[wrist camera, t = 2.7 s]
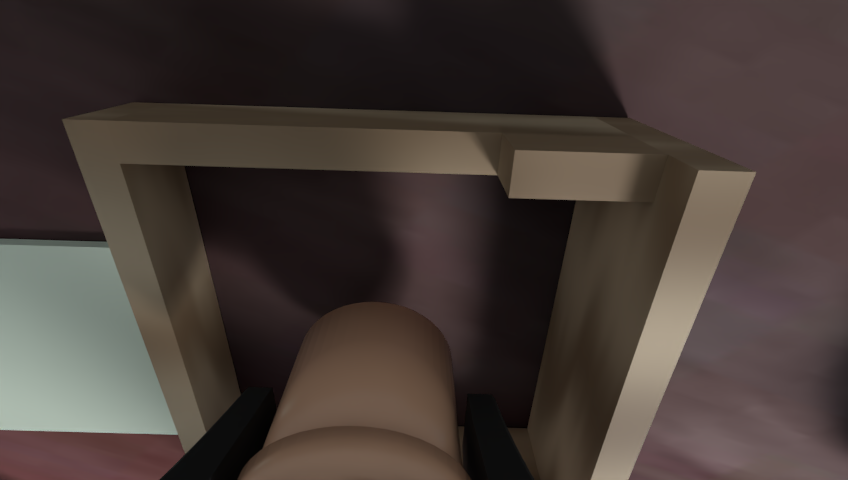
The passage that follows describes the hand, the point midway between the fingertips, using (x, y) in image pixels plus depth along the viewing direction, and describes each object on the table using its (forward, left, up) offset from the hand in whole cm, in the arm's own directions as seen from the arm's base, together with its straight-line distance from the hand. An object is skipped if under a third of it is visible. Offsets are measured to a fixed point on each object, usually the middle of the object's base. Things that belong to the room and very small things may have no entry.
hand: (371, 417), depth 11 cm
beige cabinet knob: (0, 0, -2) cm, 2 cm away
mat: (-2, +13, -4) cm, 13 cm away
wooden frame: (0, 0, -4) cm, 4 cm away
